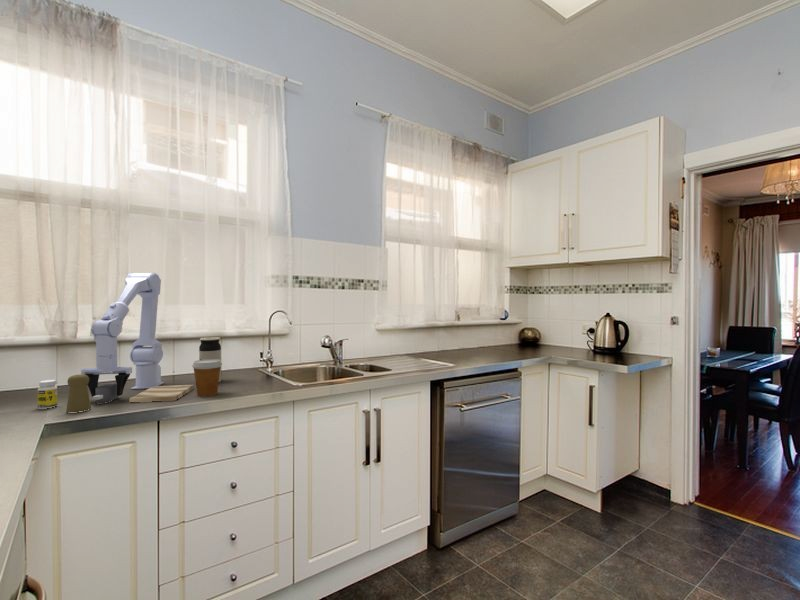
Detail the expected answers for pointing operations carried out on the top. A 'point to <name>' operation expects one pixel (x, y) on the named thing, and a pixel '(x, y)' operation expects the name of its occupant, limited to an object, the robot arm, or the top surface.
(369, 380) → the top surface
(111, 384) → the connector
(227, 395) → the top surface
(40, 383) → the supplement bottle
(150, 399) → the wooden board
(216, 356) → the travel mug
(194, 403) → the top surface
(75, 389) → the cork
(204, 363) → the disposable coffee cup
